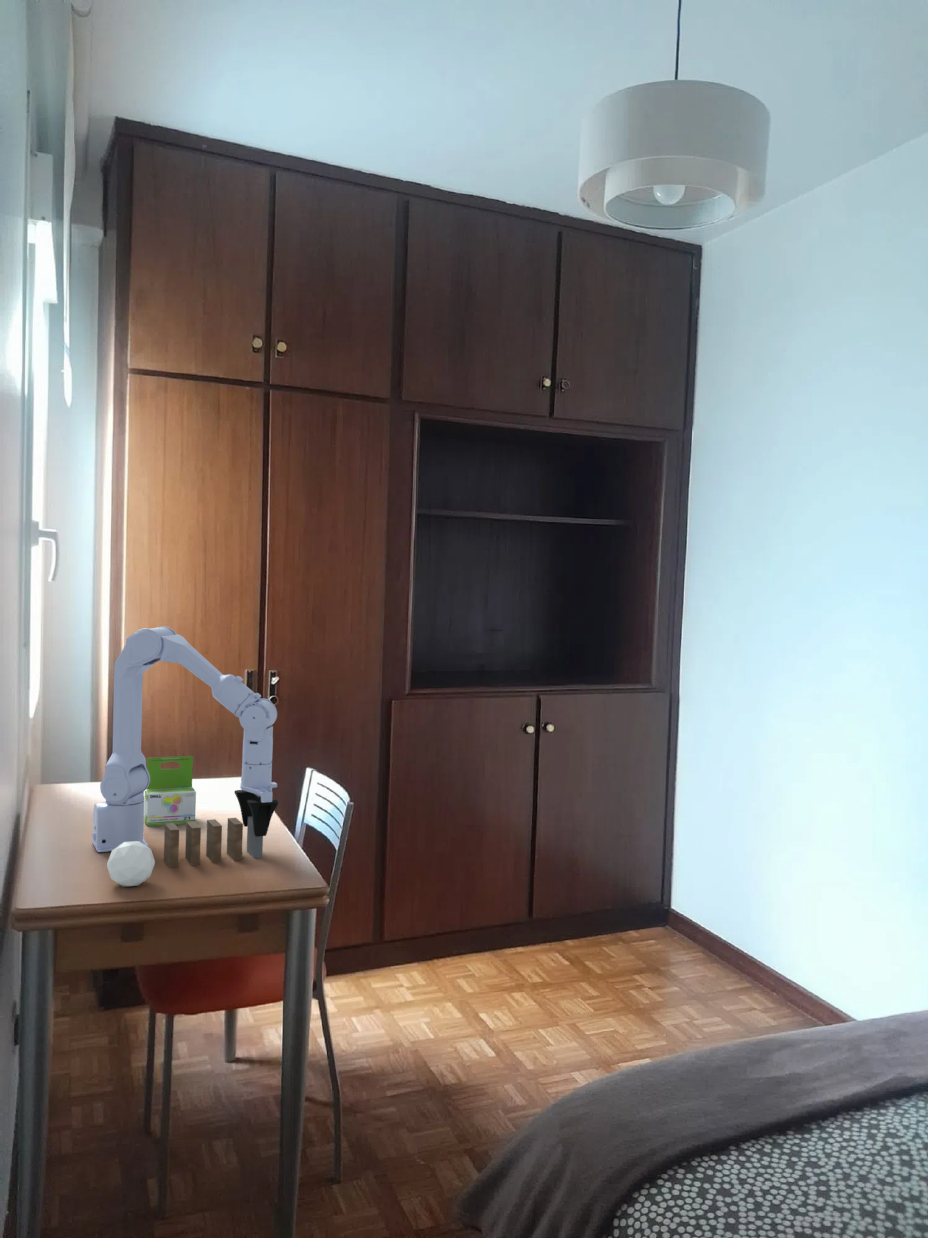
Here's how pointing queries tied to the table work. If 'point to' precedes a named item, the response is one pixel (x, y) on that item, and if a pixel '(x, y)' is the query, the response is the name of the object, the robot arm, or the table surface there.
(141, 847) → the geometric ball
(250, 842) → the domino
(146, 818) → the ink box
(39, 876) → the table surface
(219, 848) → the domino
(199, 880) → the table surface
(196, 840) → the domino
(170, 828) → the domino
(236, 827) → the domino
